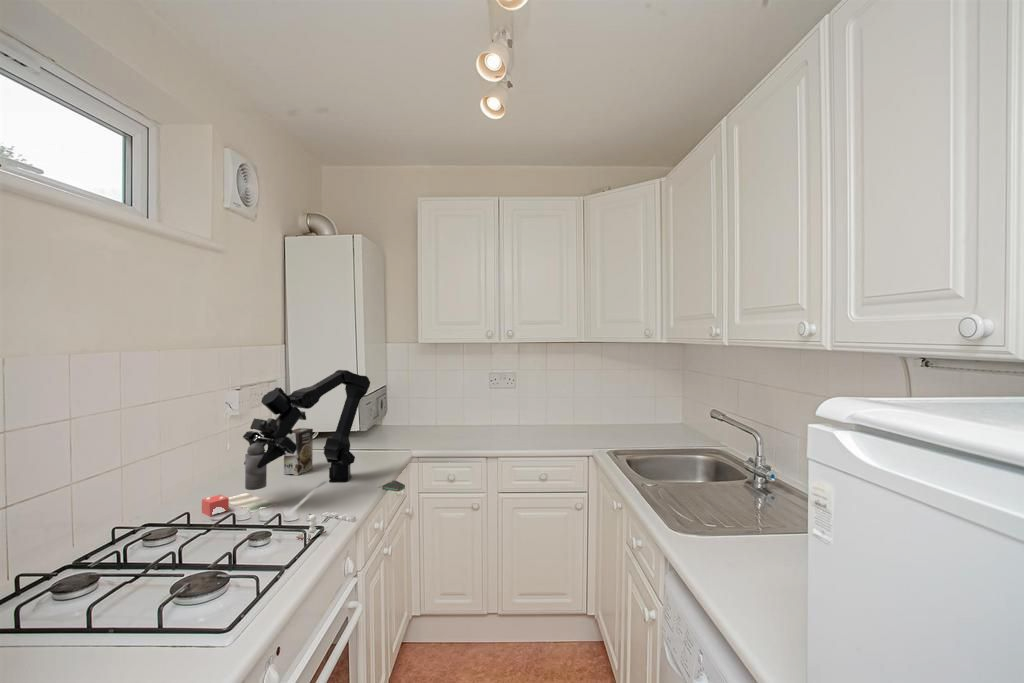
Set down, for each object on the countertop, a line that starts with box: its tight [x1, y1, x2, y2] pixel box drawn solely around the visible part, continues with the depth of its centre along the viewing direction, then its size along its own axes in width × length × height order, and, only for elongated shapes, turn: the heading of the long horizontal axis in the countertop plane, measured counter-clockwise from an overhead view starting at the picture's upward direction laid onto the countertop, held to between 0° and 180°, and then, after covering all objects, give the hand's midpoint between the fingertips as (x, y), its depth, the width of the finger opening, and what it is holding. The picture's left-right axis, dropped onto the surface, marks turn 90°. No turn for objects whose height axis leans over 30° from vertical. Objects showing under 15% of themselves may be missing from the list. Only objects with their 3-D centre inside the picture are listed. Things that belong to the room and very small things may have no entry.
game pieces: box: [296, 479, 406, 541], centre depth 141 cm, size 45×13×6 cm, turn 160°
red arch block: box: [201, 494, 230, 517], centre depth 134 cm, size 5×5×6 cm
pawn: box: [244, 443, 268, 491], centre depth 139 cm, size 6×6×13 cm
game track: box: [228, 492, 277, 513], centre depth 142 cm, size 20×11×1 cm, turn 56°
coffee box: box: [283, 427, 314, 476], centre depth 178 cm, size 9×6×16 cm
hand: (251, 466), depth 138 cm, fingers closed on pawn, 6 cm apart
